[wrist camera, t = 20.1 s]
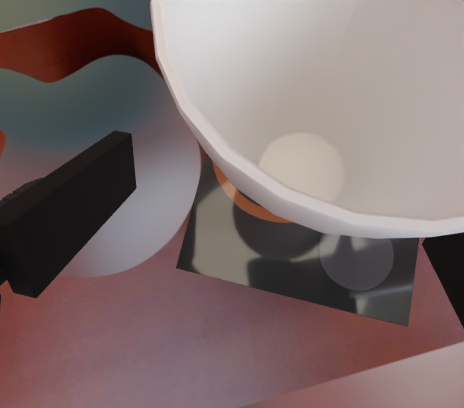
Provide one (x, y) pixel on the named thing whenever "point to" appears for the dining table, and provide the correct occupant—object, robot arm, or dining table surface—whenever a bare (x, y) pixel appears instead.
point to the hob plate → (294, 255)
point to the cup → (326, 106)
